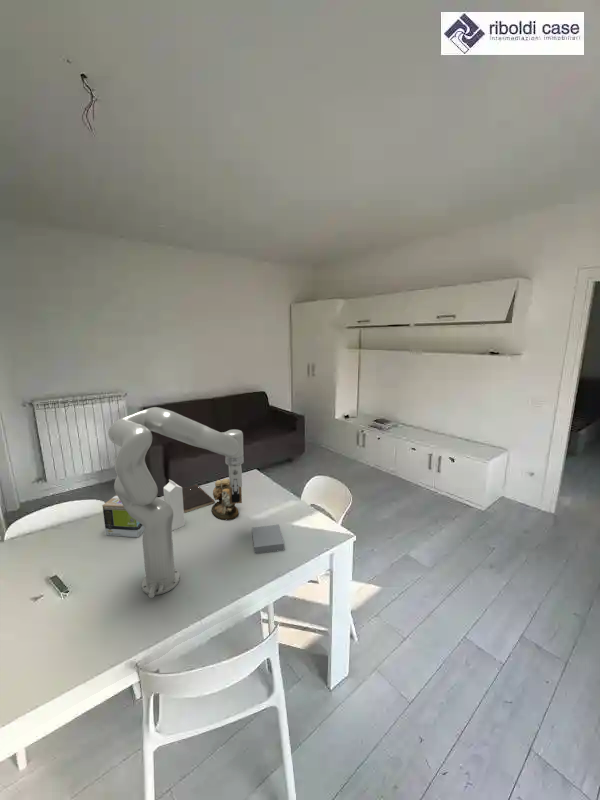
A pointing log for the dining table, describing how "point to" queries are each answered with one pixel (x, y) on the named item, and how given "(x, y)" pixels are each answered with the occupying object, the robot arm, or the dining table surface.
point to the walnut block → (231, 494)
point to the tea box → (120, 520)
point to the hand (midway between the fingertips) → (235, 498)
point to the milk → (175, 503)
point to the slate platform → (267, 539)
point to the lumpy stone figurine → (223, 501)
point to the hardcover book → (195, 498)
